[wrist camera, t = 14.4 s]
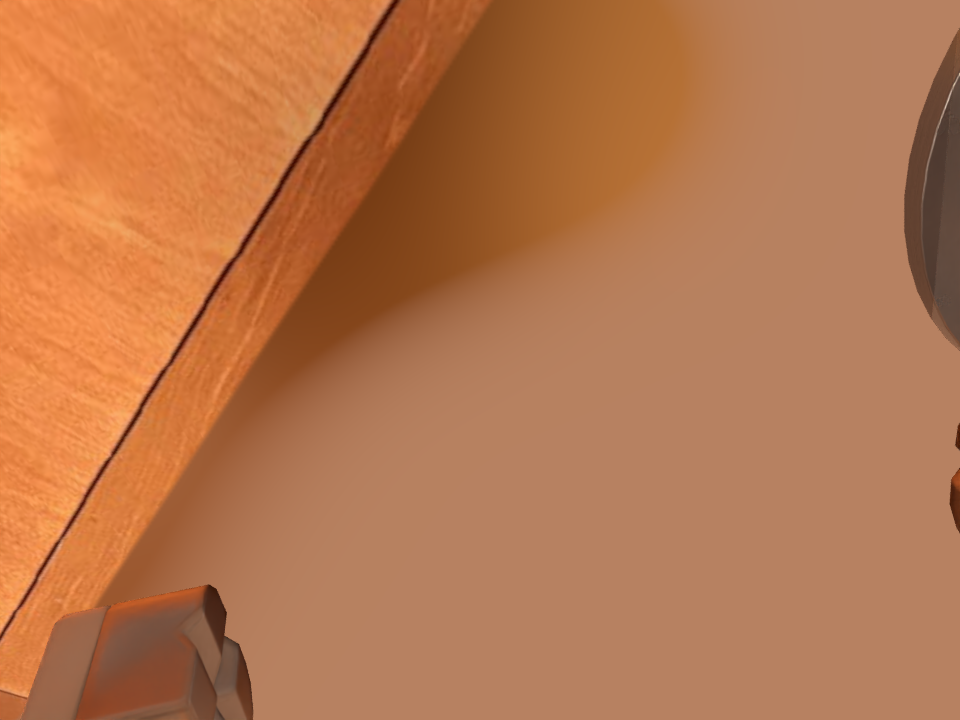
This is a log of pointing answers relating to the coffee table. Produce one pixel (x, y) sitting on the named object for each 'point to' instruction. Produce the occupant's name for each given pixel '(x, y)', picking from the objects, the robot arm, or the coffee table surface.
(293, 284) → the coffee table surface
